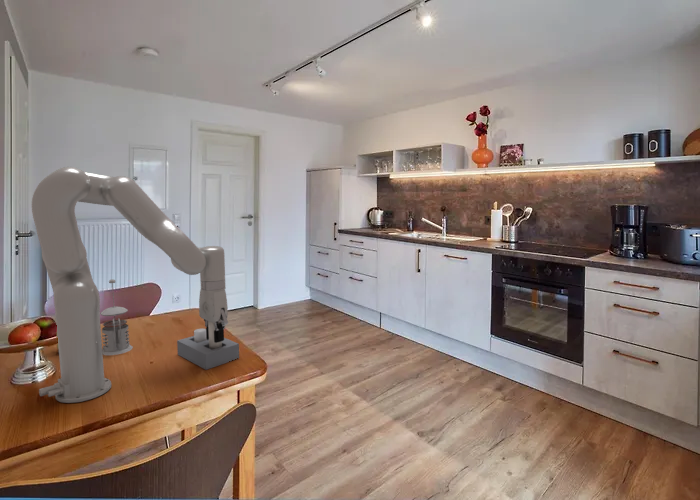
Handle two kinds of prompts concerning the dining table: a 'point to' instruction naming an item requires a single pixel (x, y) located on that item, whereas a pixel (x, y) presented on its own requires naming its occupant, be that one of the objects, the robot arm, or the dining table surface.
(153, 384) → the dining table surface
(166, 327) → the dining table surface
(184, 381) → the dining table surface
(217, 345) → the peg
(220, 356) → the socket block
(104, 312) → the french press
